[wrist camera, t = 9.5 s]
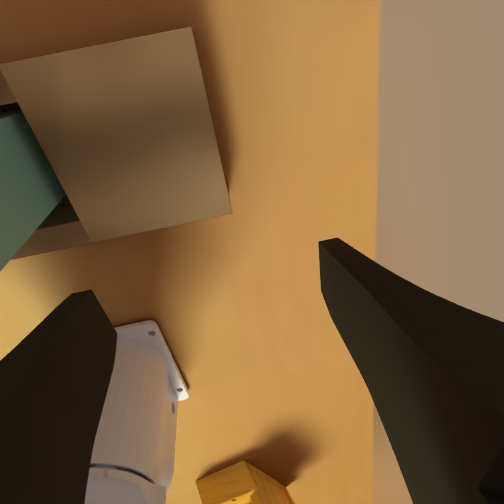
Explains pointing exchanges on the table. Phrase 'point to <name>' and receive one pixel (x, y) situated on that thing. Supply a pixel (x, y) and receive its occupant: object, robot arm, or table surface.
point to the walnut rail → (121, 137)
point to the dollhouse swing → (242, 487)
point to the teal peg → (23, 184)
